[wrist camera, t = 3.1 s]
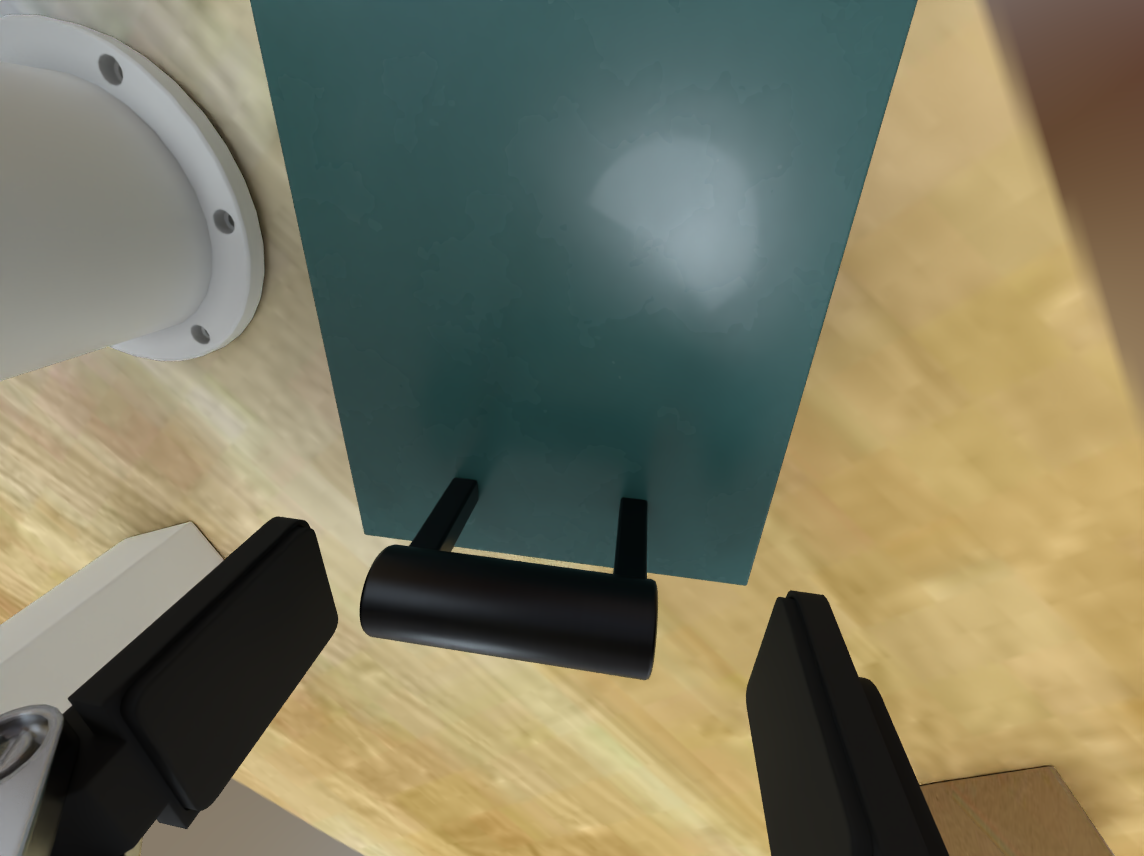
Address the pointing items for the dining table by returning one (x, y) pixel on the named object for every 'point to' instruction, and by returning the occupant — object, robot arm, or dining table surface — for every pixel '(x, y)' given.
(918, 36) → the dining table surface
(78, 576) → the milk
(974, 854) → the sandwich container
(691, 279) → the lid
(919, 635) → the dining table surface
